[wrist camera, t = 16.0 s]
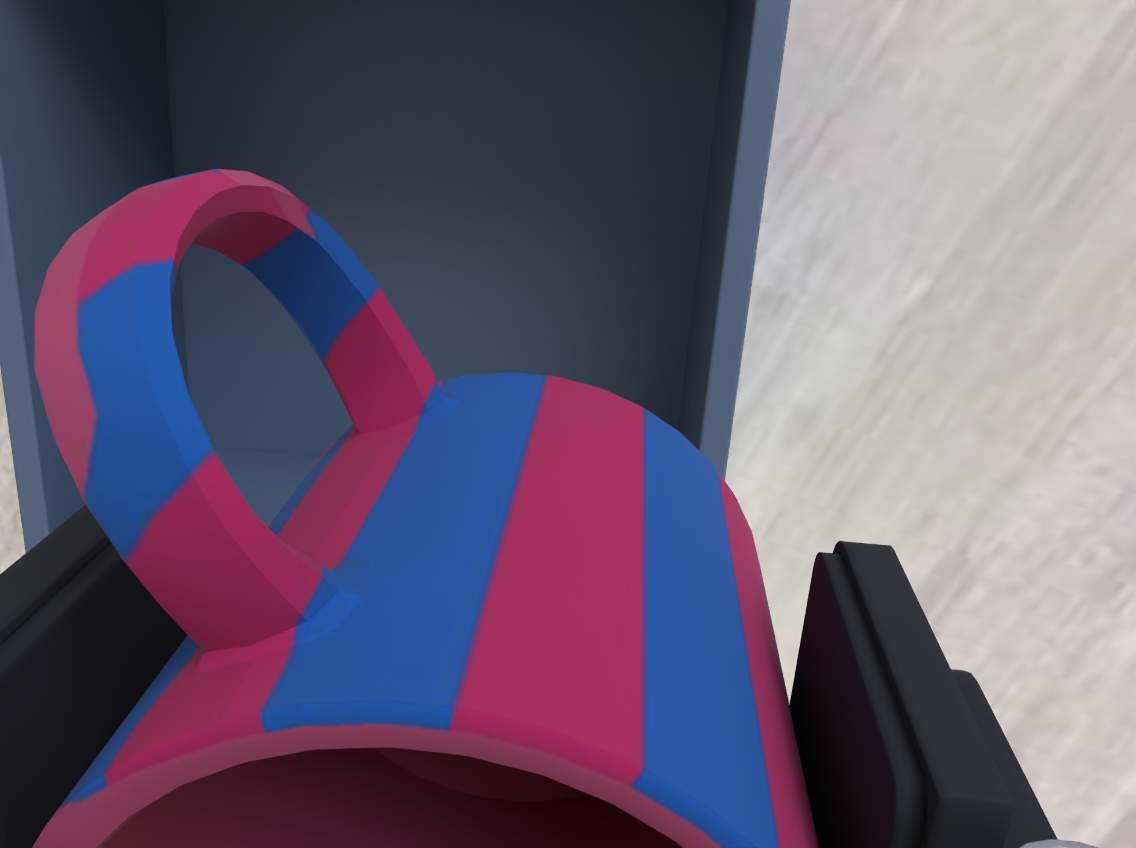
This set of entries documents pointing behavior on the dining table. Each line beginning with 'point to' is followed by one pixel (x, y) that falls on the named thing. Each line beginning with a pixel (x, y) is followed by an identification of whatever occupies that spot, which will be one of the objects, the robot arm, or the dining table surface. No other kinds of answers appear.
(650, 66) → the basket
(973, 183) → the dining table surface
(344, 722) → the cup
